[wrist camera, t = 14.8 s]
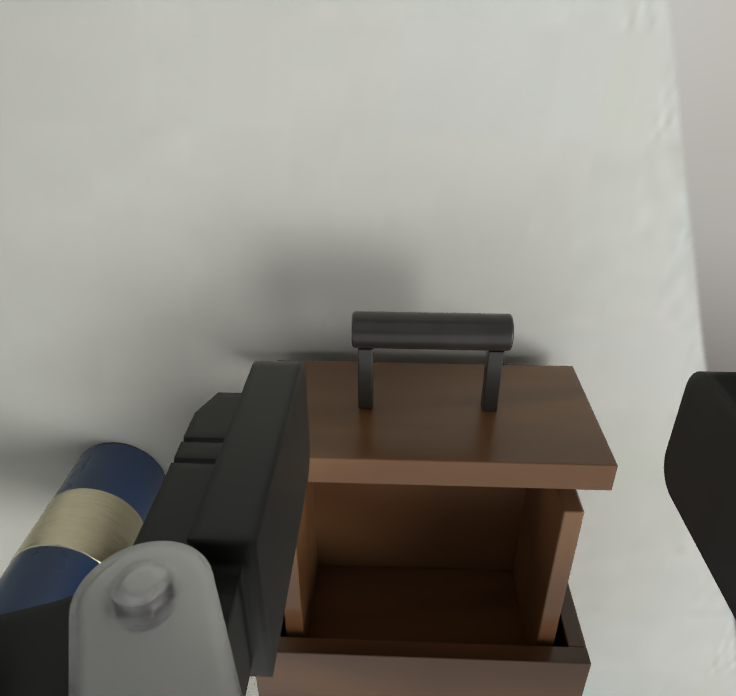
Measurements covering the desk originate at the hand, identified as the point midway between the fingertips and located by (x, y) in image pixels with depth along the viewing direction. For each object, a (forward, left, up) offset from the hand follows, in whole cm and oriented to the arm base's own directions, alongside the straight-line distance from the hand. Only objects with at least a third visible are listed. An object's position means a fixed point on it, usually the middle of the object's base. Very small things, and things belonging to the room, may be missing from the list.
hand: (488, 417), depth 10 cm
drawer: (+13, -4, -17) cm, 22 cm away
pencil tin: (+13, -20, -18) cm, 29 cm away
